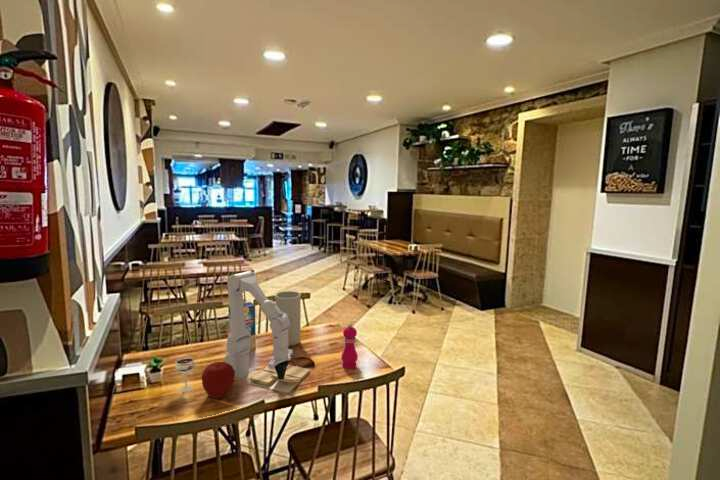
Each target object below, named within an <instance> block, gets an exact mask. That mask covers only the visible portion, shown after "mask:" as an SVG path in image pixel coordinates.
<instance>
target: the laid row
mask: <svg viewBox="0 0 720 480" xmlns="http://www.w3.org/2000/svg"><path fill="white" fill-rule="evenodd" d="M262 370H263V371H266V372H271V373H275V374H277V372H276V370H275V368H274V369H269V368H268V365H266V366H265V367H264V368H263V369H262ZM310 371H311V368H308V367H307V368H302V367H297V366H294V365H292V364H288V366H287V369H286V372H285V375H286V376H291V377H295V378H300V382H302V380H303V379H304V378H305V377H307V376H308V373H309V372H310ZM310 373H311V372H310ZM310 373H309V374H310Z"/></svg>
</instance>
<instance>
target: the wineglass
mask: <svg viewBox="0 0 720 480" xmlns="http://www.w3.org/2000/svg"><path fill="white" fill-rule="evenodd" d="M194 360H195V357H194V356H190V355H188V356H180V357H179V358H176V359H175V369H176V372H178V373H180V374H183V375H184V386H181V387H180V388H179V391H178V392H180V393H189V392H191V391H193V389H194V387H193V386H192V385H188V383H187V380H188V377H187V376H188V375H187V374H188V373H191V372H192V371H193V370H194V368H195V365H196V363H195V361H194Z"/></svg>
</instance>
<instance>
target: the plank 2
mask: <svg viewBox="0 0 720 480" xmlns="http://www.w3.org/2000/svg"><path fill="white" fill-rule="evenodd" d="M271 378H272V379H276V380H281V379H278V376H277V375H271ZM281 381H285V382H290V383H293V382H299V383H300V382H301V381H300V378H295V377H291V376H286V375H285V376H284V378H283V380H281Z"/></svg>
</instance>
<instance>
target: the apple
mask: <svg viewBox="0 0 720 480" xmlns="http://www.w3.org/2000/svg"><path fill="white" fill-rule="evenodd" d="M235 377H236V376H235V371H234V369H233V366H231V365H230V364H228V363H225V361H217V362H211V363H209V365H206V367H205V368H204V370H203V372H202V374H201V383H202V387H203V389H204V391H205V392H206V395H208V397H210V398H212V399H214V400H218V399H222V398H224V397H225V396H227V395H228V394H230V392H231V390H232V388H233V384H234V382H235Z"/></svg>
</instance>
